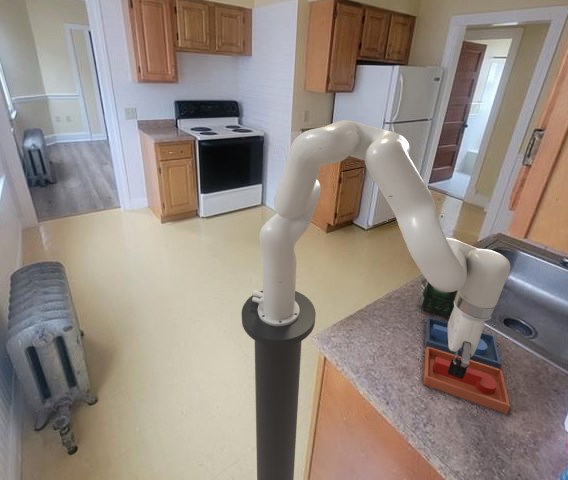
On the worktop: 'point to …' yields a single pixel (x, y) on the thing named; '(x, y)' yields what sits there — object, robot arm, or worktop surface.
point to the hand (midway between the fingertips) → (454, 359)
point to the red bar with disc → (467, 376)
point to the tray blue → (488, 358)
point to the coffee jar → (437, 301)
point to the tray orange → (465, 390)
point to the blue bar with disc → (442, 334)
